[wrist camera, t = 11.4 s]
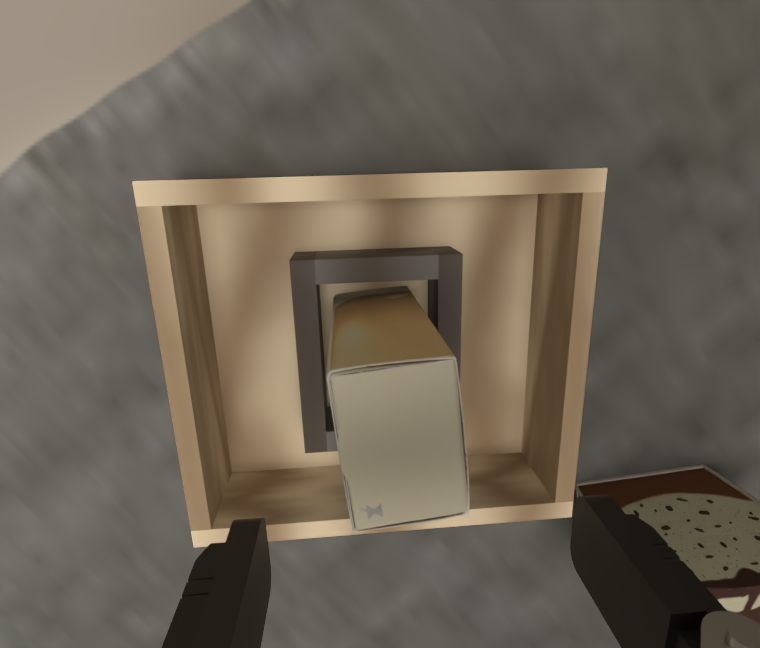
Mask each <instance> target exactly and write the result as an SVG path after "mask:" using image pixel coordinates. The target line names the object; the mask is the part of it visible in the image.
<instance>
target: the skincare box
mask: <svg viewBox="0 0 760 648" xmlns="http://www.w3.org/2000/svg"><path fill="white" fill-rule="evenodd" d="M326 380H327V385H328V392H329V398H330V405H331V411H332V417H333V424H334V430H335V436H336V442H337V448H338V454H339V460H340V465H341V471H342V477H343V482H344V488H345V494H346V499H347V505H348V511H349V516H350V522H351V528H352V531H353V532H355V533H357V532H365V531H370V530H377V529H384V528H391V527H398V526H404V525H411V524H418V523H424V522H430V521H437V520H442V519H447V518H450V517H456V516H462V515H467V514H468V513H469V510H470V494H469V470H468V457H467V446H466V435H465V424H464V414H463V406H462V397H461V390H460V381H459V374H458V367H457V359H456V357H455V356H454V354H453V353H452V351H451V350H450V348H449V347H448V345H447V344H446V342H445V341H444V340H443V338H442V336H441V335H440V334H439V332H438V331H437V329H436V328H435V326H434V325H433V324H432V322H431V321H430V319H429V318H428V316H427V315H426V313H425V312H424V310H423V309H422V307H421V306H420V304H419V303H418V301H417V300H416V299H415V297H414V296H413V294H412V292H411V291H410V289H409V288H408V287H407V286H399V287H389V288H380V289H371V290H363V291H355V292H348V293H341V294H337V295H335V296H334V298H333V308H332V319H331V329H330V340H329V352H328V363H327V374H326Z"/></svg>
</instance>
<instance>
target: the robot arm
mask: <svg viewBox="0 0 760 648" xmlns="http://www.w3.org/2000/svg"><path fill="white" fill-rule="evenodd" d="M570 548H571V556H572V561H573V564H574V567H575V569H576V571H577V573H578V575H579V577H580V578H581V580H582V582H583V583H584V585H585V587H586V588H587V590H588V592H589V593H590V595H591V597H592V599H593V600H594V602H595V604H596V605H597V607H598V609H599V610H600V612H601V614H602V615H603V617H604V619H605V621H606V622H607V624H608V626H609V627H610V629H611V631H612V632H613V634H614V636H615V637H616V639H617V641H618V643H619V644H620V646H621V648H760V624H759V623H757V622H755V621H753V620H752V619H750V618H747V617H745V616H743V615H740V614H737V613H733V612H728V611H727V610H726V609H725V608H724V607H723V606H722V605H721V603H720V602H719V601H718V600H717V599H716V598H715V597H714V595H713V594H712V593H711V592H710V591H709V590H708V589H707V588H706V586H705V585H704V584H703V583H702V582H701V581H700V580H699V579H698V577H697V576H696V575H695V574H694V573H693V572H692V571H691V569H690V568H689V567H688V566H687V565H686V564H685V563H684V562H683V561H681V560H680V557H679V556H678V555H677V554H676V553H675V551H674V550H673V549H672V548H671V547H668V543H667V542H666V541H665V540H664V539H663V538H662V537H661V536H660V534H659V533H658V532H657V531H656V530H655V529H654V528H653V527H652V526H650V525H649V524H647V523H646V522H644V521H643V520H641V519H640V518H638V517H637V516H635V515H634V514H625V513H624V511H623V510H622V509H621V508H620V507H619V505H618V504H617V503H616V502H615V501H614V499H613V498H612V497H611V496H609V495H594V496H580V497H578V498H577V499H576V501H575V507H574V516H573V526H572V535H571V545H570ZM270 588H271V565H270V556H269V548H268V539H267V530H266V522H265V519H264V518H251V519H236V520H233V522H232V524H231V527H230V530H229V533H228V536H227V539H226V542H224V543H211V544H210V545H209V546H208V547H207V548H206V549H205V550H204V551H203V553H202V554H201V555H200V556H199V557H198V558H197V559H196V560H195V563H194V566H193V568H192V571H191V573H190V576H189V579H188V583H187V584H186V586H185V589H184V591H183V594H182V599H180V602H179V604H178V607H177V609H176V612H175V615H174V617H173V620H172V622H171V625H170V628H169V630H168V633H167V635H166V638H165V640H164V643H163V646H162V648H260V647H261V641H262V636H263V630H264V625H265V619H266V613H267V608H268V602H269V596H270Z"/></svg>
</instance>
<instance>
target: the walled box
mask: <svg viewBox="0 0 760 648" xmlns="http://www.w3.org/2000/svg"><path fill="white" fill-rule="evenodd" d="M607 169H608V168H587V169H552V170H516V171H480V172H445V173H409V174H374V175H338V176H303V177H267V178H232V179H196V180H161V181H132V184H133V189H134V195H135V201H136V207H137V213H138V219H139V225H140V231H141V237H142V243H143V249H144V255H145V261H146V267H147V273H148V279H149V285H150V291H151V296H152V302H153V308H154V314H155V320H156V326H157V332H158V338H159V344H160V350H161V356H162V362H163V368H164V374H165V380H166V386H167V392H168V398H169V403H170V409H171V415H172V421H173V427H174V433H175V439H176V445H177V451H178V457H179V463H180V469H181V475H182V481H183V487H184V493H185V499H186V505H187V510H188V516H189V522H190V528H191V534H192V540H193V546H194V547H205V546H209V545H210V544H211V543H224V542H226V539H227V536H228V533H229V530H230V527H231V524H232V522H233V520H236V519H251V518H264V519H265V522H266V530H267V539H268V541H280V540H293V539H305V538H318V537H330V536H343V535H355V534H368V533H380V532H392V531H405V530H417V529H430V528H442V527H455V526H467V525H480V524H492V523H505V522H517V521H530V520H542V519H555V518H567V517H572V509H573V499H574V490H575V480H576V470H577V460H578V451H579V441H580V431H581V422H582V412H583V402H584V392H585V383H586V373H587V363H588V353H589V344H590V334H591V324H592V315H593V305H594V295H595V285H596V276H597V266H598V256H599V246H600V237H601V227H602V217H603V208H604V198H605V188H606V178H607ZM399 286H407V287H408V288H409V289H410V291H411V292H412V294H413V296H414V297H415V299H416V300H417V301H418V303H419V304H420V306H421V307H422V309H423V310H424V312H425V313H426V315H427V316H428V318H429V319H430V321H431V322H432V324H433V325H434V326H435V328H436V329H437V331H438V332H439V334H440V335H441V336H442V338H443V340H444V341H445V342H446V344H447V345H448V347H449V348H450V350H451V351H452V353H453V354H454V356H455V357H456V359H457V367H458V374H459V381H460V390H461V397H462V406H463V414H464V424H465V435H466V446H467V457H468V470H469V494H470V510H469V513H468V514H467V515H462V516H456V517H450V518H447V519H442V520H437V521H430V522H424V523H418V524H411V525H404V526H398V527H391V528H384V529H377V530H370V531H365V532H357V533H355V532H353V531H352V528H351V522H350V516H349V511H348V505H347V499H346V494H345V488H344V482H343V477H342V471H341V465H340V460H339V454H338V448H337V442H336V436H335V430H334V424H333V417H332V411H331V405H330V398H329V392H328V385H327V380H326V374H327V363H328V352H329V340H330V329H331V319H332V308H333V298H334V296H335V295H337V294H341V293H348V292H355V291H363V290H371V289H380V288H389V287H399Z"/></svg>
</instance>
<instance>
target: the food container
mask: <svg viewBox="0 0 760 648" xmlns="http://www.w3.org/2000/svg"><path fill="white" fill-rule="evenodd" d="M594 495H609V496H611V497H612V498H613V499H614V501H615V502H616V503H617V504H618V505H619V507H620V508H621V509H622V510H623V511H624V513H625V514H634V515H635V516H637V517H638V518H640V519H641V520H643V521H644V522H646V523H647V524H649V525H650V526H652V527H653V528H654V529H655V530H656V531H657V532H658V533H659V534H660V536H661V537H662V538H663V539H664V540H665V541H666V542H667V543H668V547H671V548H672V549H673V550H674V551H675V553H676V554H677V555H678V556H679V557H680V560H681V561H683V562H684V563H685V564H686V565H687V566H688V567H689V568H690V569H691V571H692V572H693V573H694V574H695V575H696V576H697V577H698V579H699V580H700V581H701V582H702V583H703V584H704V585H705V586H706V588H707V589H708V590H709V591H710V592H711V593H712V594H713V595H714V597H715V598H716V599H717V600H718V601H719V602H720V603H721V605H722V606H723V607H724V608H725V609H726V610H727V611H728V612H733V613H737V614H740V615H743V616H745V617H747V618H750V619H752V620H753V621H755V622H757V623H759V624H760V501H759V500H758V499H756V498H755V497H753V496H752V495H750V494H748V493H747V492H745V491H744V490H742V489H741V488H739V487H738V486H736V485H735V484H733V483H732V482H730V481H729V480H727V479H726V478H724V477H723V476H721V475H720V474H718V473H717V472H715V471H714V470H712V469H711V468H709V467H708V466H706V465H705V464H700V465H693V466H686V467H679V468H672V469H665V470H658V471H651V472H644V473H637V474H630V475H623V476H616V477H609V478H602V479H595V480H588V481H581V482H575V490H574V500H575V501H576V499H577V498H578V497H580V496H594Z"/></svg>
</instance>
